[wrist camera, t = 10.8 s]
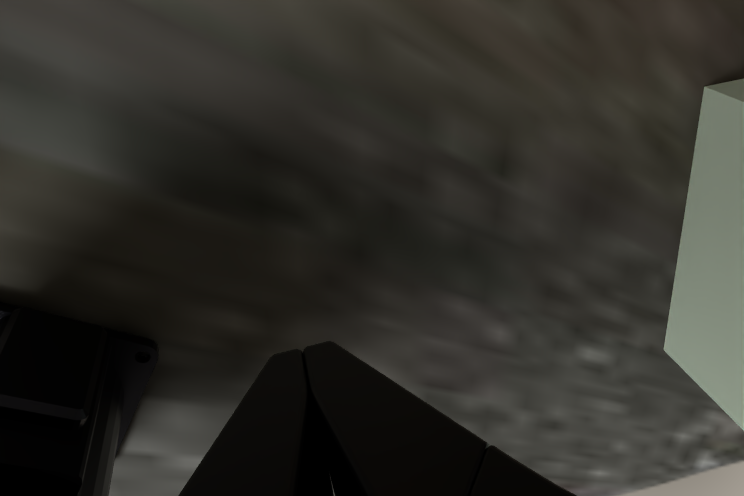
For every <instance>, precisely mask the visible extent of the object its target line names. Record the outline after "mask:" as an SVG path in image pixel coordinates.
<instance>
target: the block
mask: <svg viewBox="0 0 744 496" xmlns="http://www.w3.org/2000/svg"><path fill="white" fill-rule="evenodd" d="M664 351H665V352H666V353H667V354H668V355H669V356H670V357H671V358H672V359H673V360H674V361H675V362H676V363H677V364H678V365H679V366H680V367H681V368H682V369H683V370H684V371H685V372H686V373H687V374H688V375H689V376H690V377H691V378H692V379H693V380H694V381H695V382H696V383H697V384H698V385H699V386H700V387H701V388H702V389H703V390H704V391H705V392H706V393H707V394H708V395H709V396H710V397H711V398H712V399H713V400H714V401H715V402H716V403H717V404H718V405H719V406H720V407H721V408H722V409H723V410H724V411H725V412H726V413H727V414H728V415H729V416H730V417H731V418H732V419H733V420H734V421H735V422H736V423H737V424H738V425H739V426H740V427H741V428H742V429H743V430H744V79H739V80H734V81H729V82H725V83H720V84H715V85H710V86H705V87H704V92H703V98H702V105H701V111H700V118H699V124H698V131H697V137H696V144H695V150H694V157H693V163H692V170H691V176H690V182H689V189H688V195H687V202H686V208H685V215H684V221H683V228H682V234H681V241H680V247H679V254H678V260H677V267H676V273H675V280H674V286H673V293H672V299H671V305H670V312H669V318H668V325H667V331H666V338H665V344H664Z"/></svg>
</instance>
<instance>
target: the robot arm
mask: <svg viewBox="0 0 744 496" xmlns="http://www.w3.org/2000/svg"><path fill="white" fill-rule="evenodd" d="M140 351H145V352H148V353H149V354H148V355H146V356H141V355H139V354H137V353H138V352H140ZM158 352H159V348H158V345H157V344H156V343H155V342H154V341H153V340H150V339H148V338H144V337H139V336H135V335H131V334H127V333H123V332H119V331H115V330H111V329H107V328H103V327H101V326H98V325H94V324H90V323H86V322H82V321H78V320H74V319H70V318H66V317H62V316H58V315H54V314H50V313H45V312H41V311H37V310H33V309H29V308H25V307H23V308H22V307H18V306H14V305H10V304H6V303H2V302H0V496H108V495H109V489H110V484H111V478H112V472H113V466H114V460H115V456H116V453H117V451H118V449H119V447H120V444H121V442H122V440H123V438H124V435H125V433H126V431H127V428H128V426H129V424H130V422H131V419H132V417H133V415H134V413H135V410H136V408H137V406H138V403H139V401H140V399H141V397H142V394H143V392H144V390H145V388H146V385H147V383H148V381H149V378H150V376H151V374H152V372H153V369H154V367H155V365H156V363H157V360H158ZM303 355H304V356H303ZM330 477H331V478H330ZM331 481H332V483H331ZM332 485H333V488H332ZM333 489H334V493H335V496H576V495H574V494H573V493H571V492H569V491H567V490H565V489H563V488H561V487H560V486H558V485H556V484H554V483H553V482H551V481H549V480H548V479H546V478H544V477H543V476H541V475H539V474H538V473H536V472H534V471H533V470H531V469H530V468H528V467H526V466H525V465H523V464H521V463H520V462H518V461H516V460H515V459H513V458H512V457H510V456H509V455H507V454H506V453H504V452H503V451H501V450H500V449H498V448H496V447H495V446H493V445H491V446H489V444H488V443H487V442H485V441H484V440H482V439H481V438H479V437H478V436H476V435H475V434H473V433H472V432H470V431H469V430H467V429H466V428H464V427H462V426H461V425H459V424H458V423H456V422H455V421H453V420H452V419H450V418H449V417H447V416H446V415H444V414H443V413H441V412H440V411H438V410H437V409H435V408H433V407H432V406H430V405H429V404H427V403H426V402H424V401H423V400H421V399H420V398H418V397H417V396H415V395H414V394H412V393H411V392H409V391H407V390H406V389H404V388H403V387H401V386H400V385H398V384H397V383H395V382H394V381H392V380H391V379H389V378H388V377H386V376H385V375H383V374H382V373H380V372H378V371H377V370H375V369H374V368H372V367H371V366H369V365H368V364H366V363H365V362H363V361H362V360H360V359H359V358H357V357H356V356H354V355H352V354H351V353H349V352H348V351H346V350H345V349H343V348H342V347H340V346H339V345H337V344H336V343H334V342H331V341H327V342H323V343H319V344H315V345H311V346H307V347H306V348H305V349H304V351H303V353H302V351H301V350H299V349H294V350H290V351H286V352H282V353H278V354H274V355H273V356H272V357H270V359H269V360H268V362H267V363H266V365H265V366H264V368H263V369H262V371H261V372H260V374H259V375H258V377H257V378H256V380H255V381H254V383H253V384H252V386H251V387H250V389H249V390H248V392H247V393H246V395H245V396H244V398H243V399H242V401H241V402H240V404H239V405H238V407H237V408H236V410H235V411H234V413H233V414H232V416H231V417H230V419H229V420H228V422H227V423H226V425H225V426H224V428H223V429H222V431H221V432H220V434H219V436H218V437H217V439H216V440H215V442H214V443H213V445H212V446H211V448H210V449H209V451H208V452H207V454H206V455H205V457H204V458H203V460H202V461H201V463H200V464H199V466H198V467H197V469H196V470H195V472H194V473H193V475H192V476H191V478H190V479H189V481H188V482H187V484H186V485H185V487H184V488H183V490H182V491H181V493H180V494H179V496H334V494H333Z"/></svg>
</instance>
